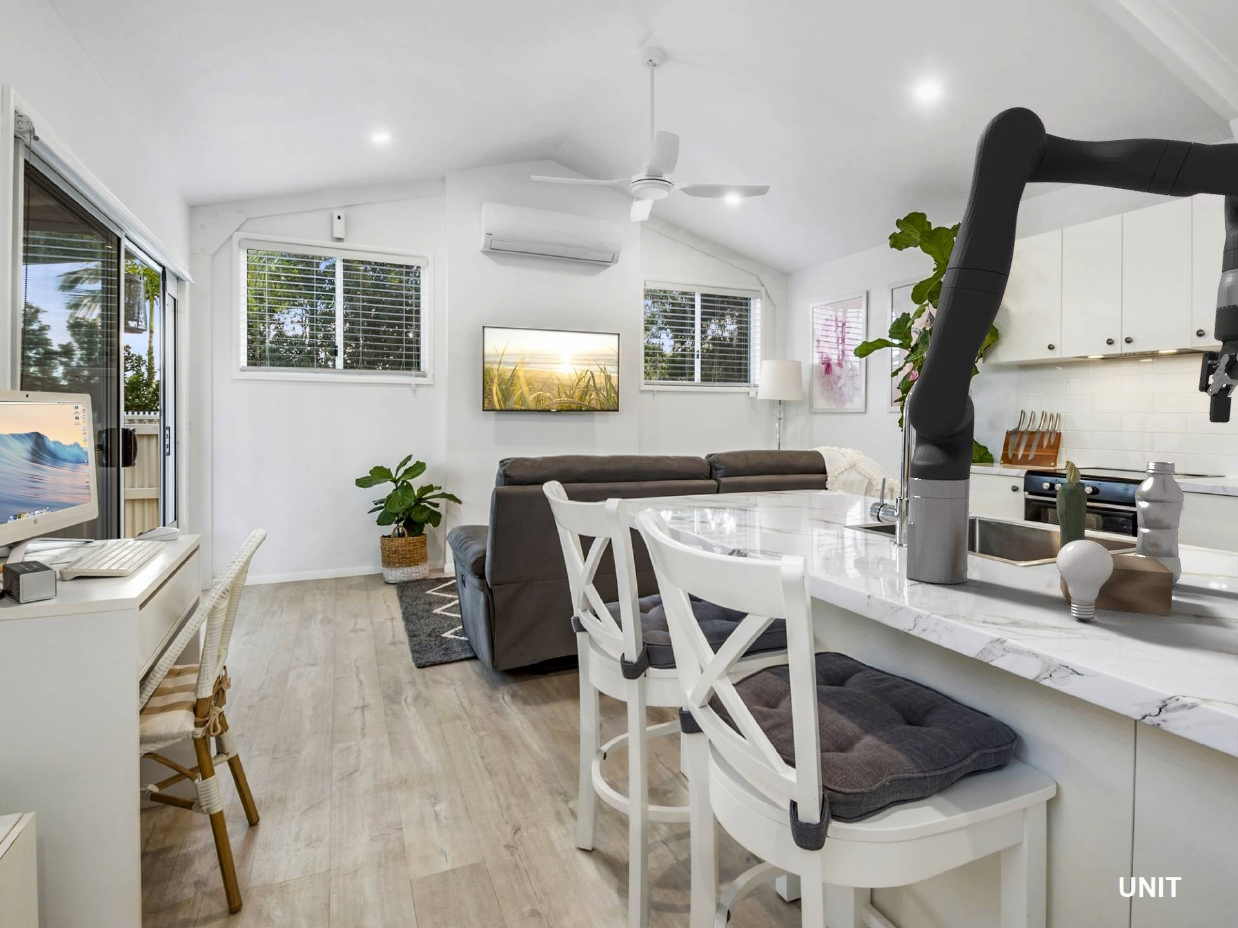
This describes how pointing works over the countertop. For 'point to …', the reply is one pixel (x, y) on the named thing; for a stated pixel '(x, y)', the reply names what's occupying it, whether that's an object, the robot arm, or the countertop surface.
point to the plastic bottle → (1159, 516)
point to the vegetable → (1071, 507)
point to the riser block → (1134, 586)
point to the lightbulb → (1084, 574)
